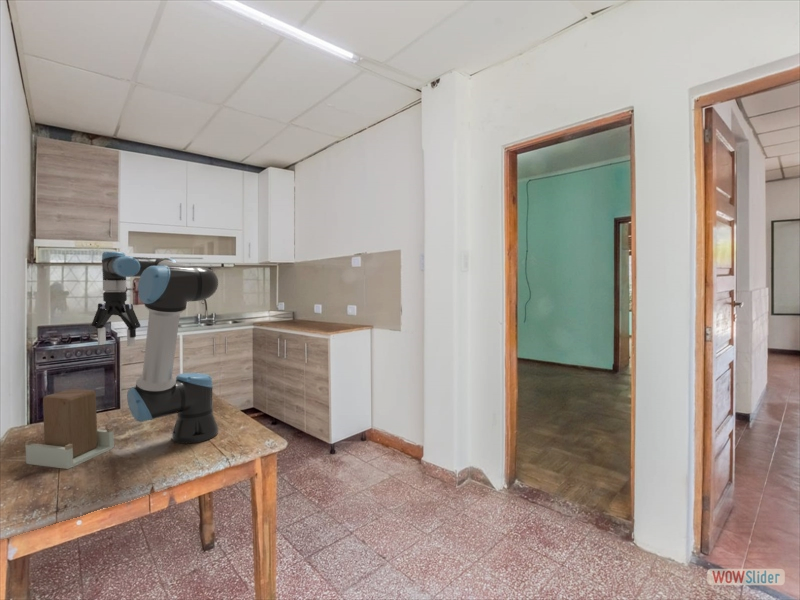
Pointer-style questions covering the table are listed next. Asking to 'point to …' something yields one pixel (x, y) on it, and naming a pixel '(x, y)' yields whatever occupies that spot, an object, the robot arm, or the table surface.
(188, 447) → the table surface
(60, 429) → the wooden block
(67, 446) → the pale green tray
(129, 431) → the table surface
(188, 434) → the robot arm
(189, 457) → the table surface
